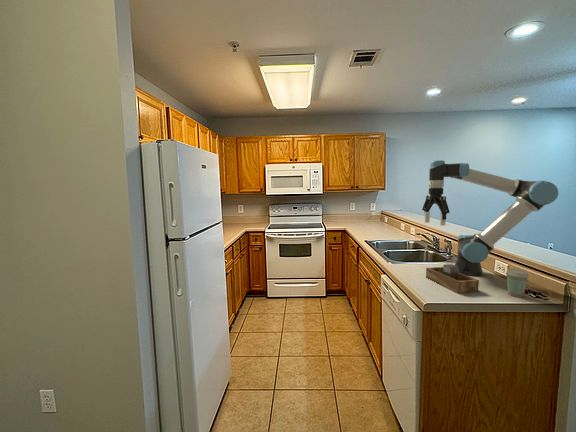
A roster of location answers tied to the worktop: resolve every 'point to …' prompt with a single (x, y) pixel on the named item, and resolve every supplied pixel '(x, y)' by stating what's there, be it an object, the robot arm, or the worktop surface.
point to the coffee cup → (516, 282)
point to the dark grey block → (451, 271)
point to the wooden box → (453, 281)
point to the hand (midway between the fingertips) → (434, 223)
